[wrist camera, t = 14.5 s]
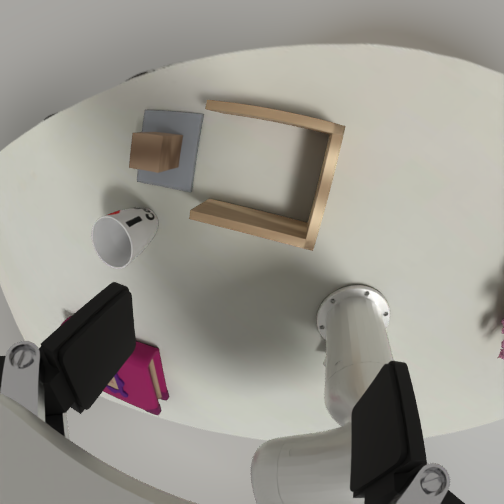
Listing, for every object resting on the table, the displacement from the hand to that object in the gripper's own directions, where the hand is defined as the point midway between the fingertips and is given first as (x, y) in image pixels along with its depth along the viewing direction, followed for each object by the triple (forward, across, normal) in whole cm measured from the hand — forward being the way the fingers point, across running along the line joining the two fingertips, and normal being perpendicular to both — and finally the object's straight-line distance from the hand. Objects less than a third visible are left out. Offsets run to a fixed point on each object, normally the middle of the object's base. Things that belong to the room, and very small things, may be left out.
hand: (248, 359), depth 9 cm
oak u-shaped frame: (+32, +5, -2) cm, 33 cm away
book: (+33, +34, +51) cm, 70 cm away
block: (+32, +21, -2) cm, 38 cm away
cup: (+32, +24, +11) cm, 42 cm away
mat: (+32, +21, -2) cm, 39 cm away
